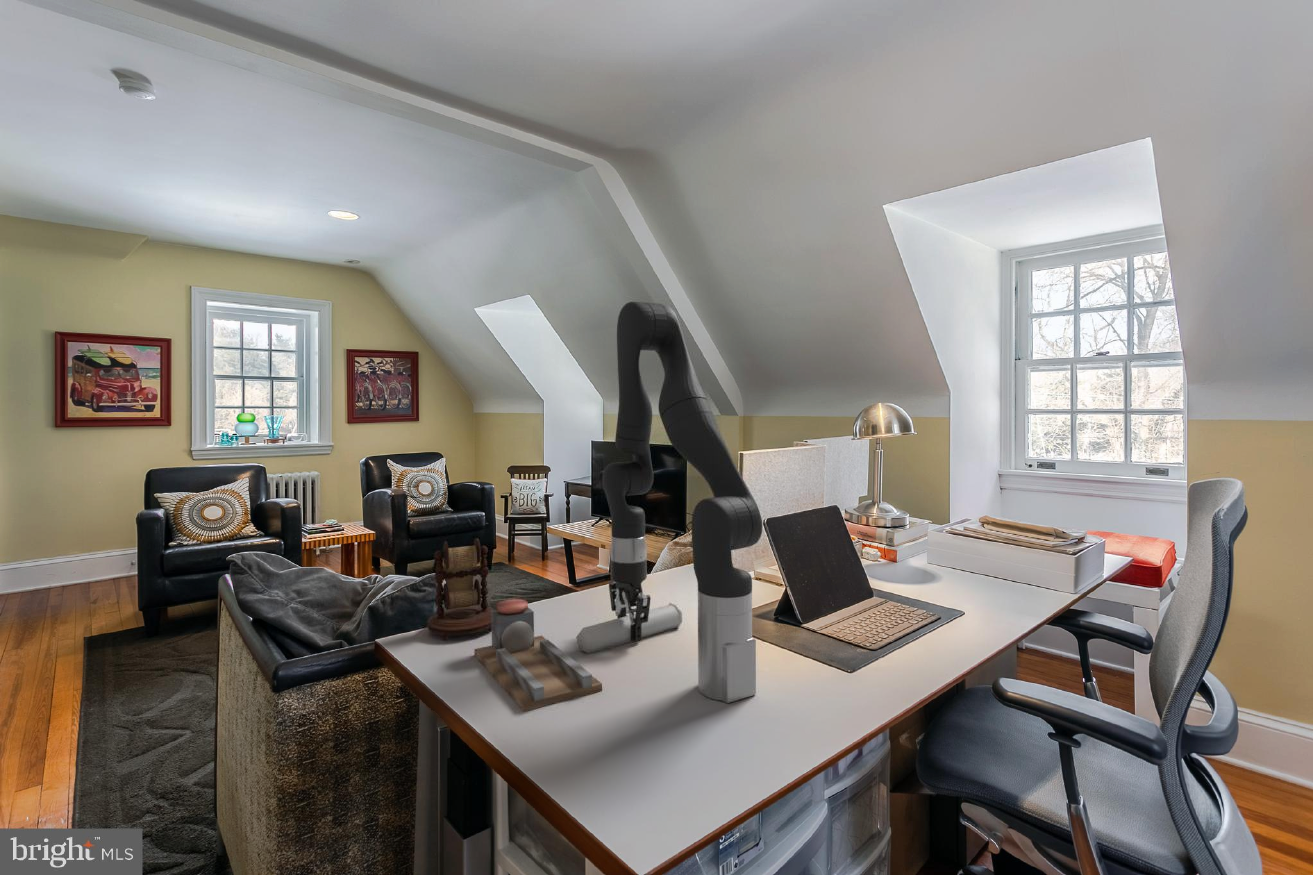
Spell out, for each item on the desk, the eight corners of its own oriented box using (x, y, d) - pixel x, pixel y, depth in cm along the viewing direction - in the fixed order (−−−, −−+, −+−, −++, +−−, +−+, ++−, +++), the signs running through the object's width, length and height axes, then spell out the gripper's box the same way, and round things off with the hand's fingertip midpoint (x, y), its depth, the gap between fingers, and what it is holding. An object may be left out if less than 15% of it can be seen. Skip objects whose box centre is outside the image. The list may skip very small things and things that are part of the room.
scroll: (488, 615, 151) (486, 531, 150) (505, 634, 138) (503, 542, 137) (422, 625, 144) (420, 537, 143) (433, 646, 131) (431, 549, 130)
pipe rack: (602, 690, 110) (601, 634, 109) (523, 711, 103) (522, 651, 102) (540, 640, 134) (540, 594, 134) (473, 654, 127) (472, 605, 126)
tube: (588, 639, 124) (684, 611, 140) (573, 623, 128) (669, 598, 143) (583, 662, 125) (679, 632, 141) (570, 646, 129) (665, 618, 145)
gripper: (662, 561, 130) (662, 644, 130) (627, 548, 142) (628, 624, 143) (629, 566, 126) (630, 651, 126) (596, 552, 138) (597, 630, 139)
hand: (629, 636), depth 134 cm, fingers closed on tube, 5 cm apart
